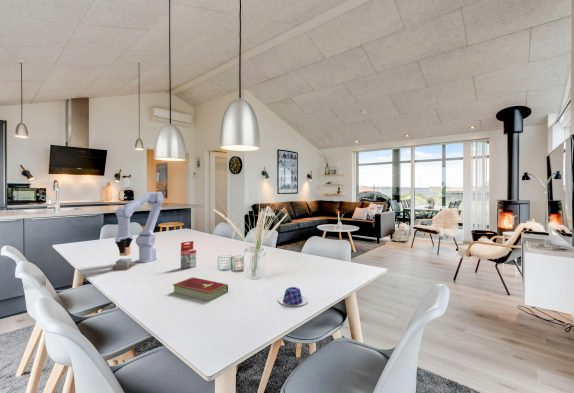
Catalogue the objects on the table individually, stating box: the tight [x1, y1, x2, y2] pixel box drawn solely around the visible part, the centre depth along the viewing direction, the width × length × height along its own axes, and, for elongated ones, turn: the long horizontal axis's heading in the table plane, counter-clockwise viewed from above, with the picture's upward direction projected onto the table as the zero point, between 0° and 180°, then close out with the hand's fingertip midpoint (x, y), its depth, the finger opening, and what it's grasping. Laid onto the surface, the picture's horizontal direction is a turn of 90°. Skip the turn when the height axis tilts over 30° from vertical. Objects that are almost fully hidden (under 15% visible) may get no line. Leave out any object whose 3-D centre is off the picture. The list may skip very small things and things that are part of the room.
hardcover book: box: [172, 277, 229, 302], centre depth 125 cm, size 12×21×4 cm, turn 63°
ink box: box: [180, 240, 197, 270], centre depth 163 cm, size 4×8×15 cm, turn 134°
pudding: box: [278, 286, 308, 307], centre depth 116 cm, size 12×12×5 cm
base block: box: [112, 262, 136, 271], centre depth 161 cm, size 8×8×2 cm
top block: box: [115, 258, 132, 266], centre depth 160 cm, size 6×6×2 cm
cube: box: [119, 246, 131, 257], centre depth 160 cm, size 4×4×4 cm
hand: (124, 252), depth 160 cm, fingers closed on cube, 4 cm apart
